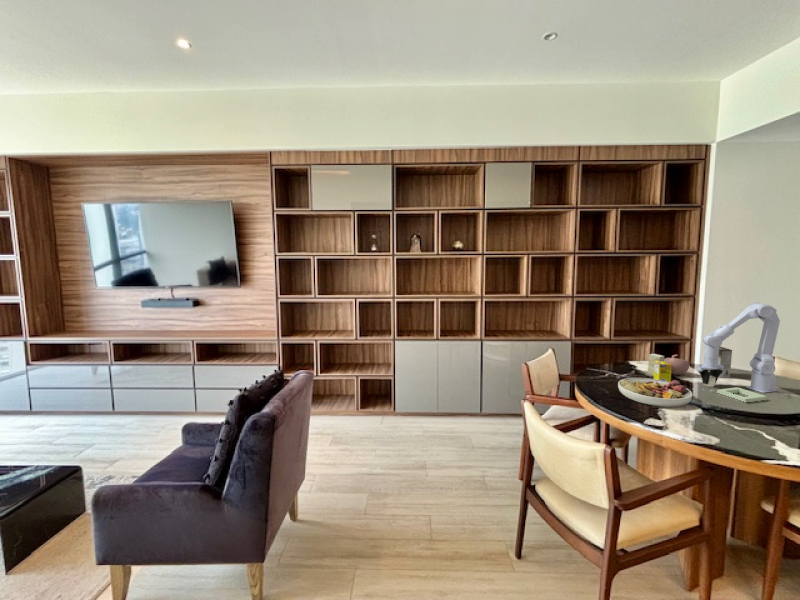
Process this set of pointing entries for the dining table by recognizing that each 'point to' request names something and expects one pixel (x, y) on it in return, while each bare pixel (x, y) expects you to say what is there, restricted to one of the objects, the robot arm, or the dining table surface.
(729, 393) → the holder
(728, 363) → the coffee box
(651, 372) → the skincare box
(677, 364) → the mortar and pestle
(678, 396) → the bowl
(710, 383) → the white egg shape
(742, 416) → the dining table surface
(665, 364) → the supplement box
